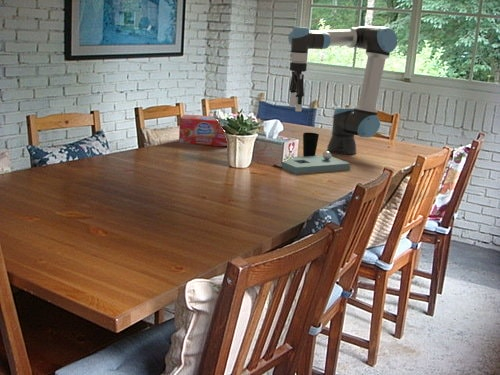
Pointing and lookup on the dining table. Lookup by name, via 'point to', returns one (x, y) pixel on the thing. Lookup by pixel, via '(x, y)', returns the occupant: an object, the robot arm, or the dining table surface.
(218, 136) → the box
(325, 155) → the ball
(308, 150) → the cup
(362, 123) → the robot arm
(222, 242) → the dining table surface
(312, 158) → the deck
